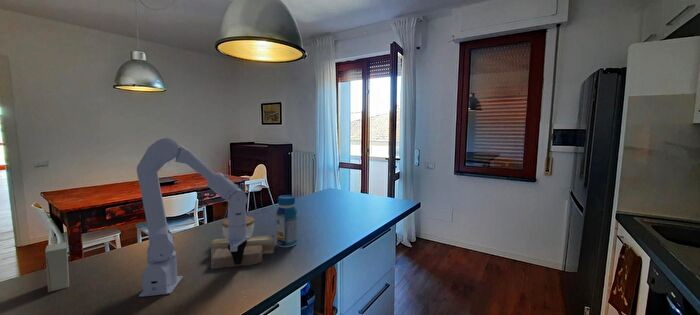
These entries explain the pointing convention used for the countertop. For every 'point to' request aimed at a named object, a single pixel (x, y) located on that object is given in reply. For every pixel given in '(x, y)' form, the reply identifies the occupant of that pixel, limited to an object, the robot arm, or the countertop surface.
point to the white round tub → (248, 226)
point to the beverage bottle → (286, 221)
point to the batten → (264, 240)
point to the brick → (225, 258)
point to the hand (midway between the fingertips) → (238, 263)
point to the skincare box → (57, 266)
